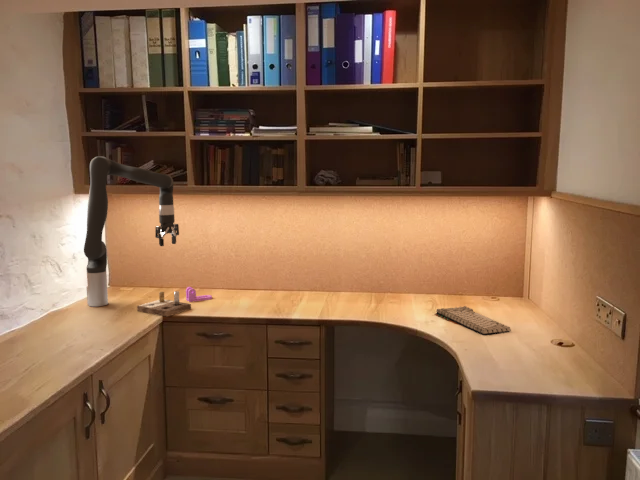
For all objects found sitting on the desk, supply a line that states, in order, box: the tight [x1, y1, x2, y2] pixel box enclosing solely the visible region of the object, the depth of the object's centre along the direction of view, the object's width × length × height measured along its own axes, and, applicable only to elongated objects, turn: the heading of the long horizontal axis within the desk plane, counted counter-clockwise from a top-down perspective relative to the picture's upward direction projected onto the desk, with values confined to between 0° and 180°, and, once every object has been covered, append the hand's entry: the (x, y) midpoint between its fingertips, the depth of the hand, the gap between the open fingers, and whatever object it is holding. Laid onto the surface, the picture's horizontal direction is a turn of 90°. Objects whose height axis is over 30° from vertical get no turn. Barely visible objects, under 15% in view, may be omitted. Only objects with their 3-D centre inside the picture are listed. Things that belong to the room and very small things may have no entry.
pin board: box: [136, 291, 192, 317], centre depth 264 cm, size 20×16×8 cm
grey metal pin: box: [173, 290, 180, 306], centre depth 264 cm, size 2×2×9 cm
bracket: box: [185, 286, 213, 303], centre depth 285 cm, size 13×6×7 cm, turn 119°
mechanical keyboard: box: [434, 305, 512, 336], centre depth 244 cm, size 38×19×3 cm, turn 22°
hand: (167, 245), depth 276 cm, fingers open, 8 cm apart
